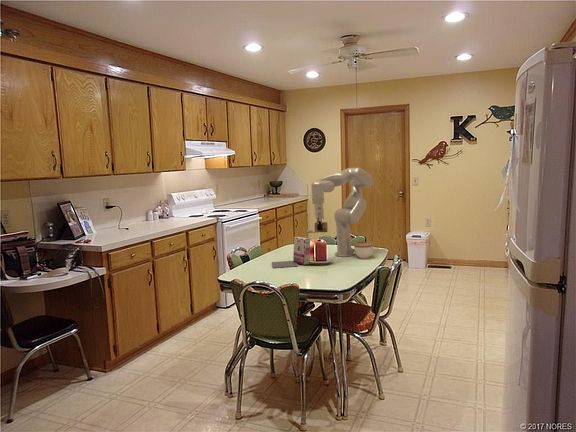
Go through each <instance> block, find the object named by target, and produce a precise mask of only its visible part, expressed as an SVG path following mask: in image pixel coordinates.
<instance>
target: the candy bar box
mask: <svg viewBox="0 0 576 432" xmlns="http://www.w3.org/2000/svg"><path fill="white" fill-rule="evenodd" d="M310 253H311V239H310V238H307V237H301V236H294V237H293V260H292V261H293V262H296V263H297V264H299V265H303V266H306V265H310V263H311V262H310V260H311V259H310V257H311V256H310V255H311V254H310Z"/></svg>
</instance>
